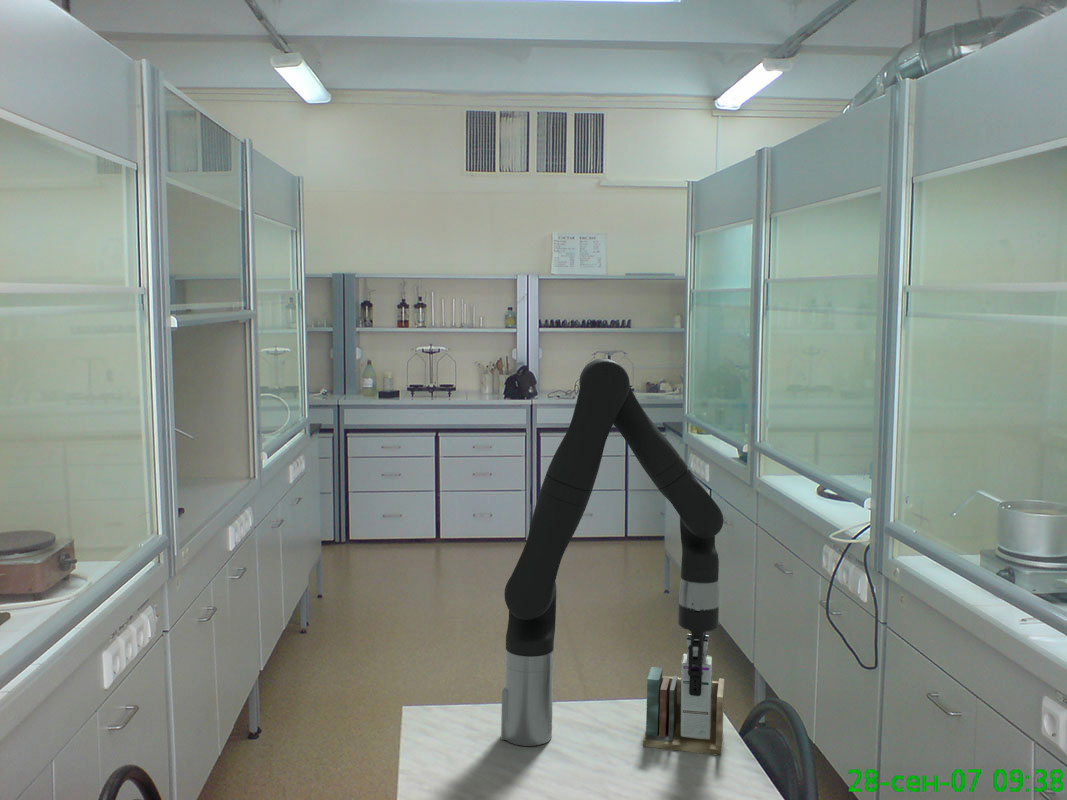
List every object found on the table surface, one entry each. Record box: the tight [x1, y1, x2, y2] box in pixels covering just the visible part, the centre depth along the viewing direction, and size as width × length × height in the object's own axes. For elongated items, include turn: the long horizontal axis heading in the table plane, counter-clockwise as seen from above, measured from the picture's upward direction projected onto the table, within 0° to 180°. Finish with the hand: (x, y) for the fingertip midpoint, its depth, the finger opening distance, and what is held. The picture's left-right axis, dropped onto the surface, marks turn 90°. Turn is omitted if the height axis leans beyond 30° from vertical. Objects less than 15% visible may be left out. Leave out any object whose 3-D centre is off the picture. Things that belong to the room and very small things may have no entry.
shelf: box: [642, 666, 725, 756], centre depth 176 cm, size 14×11×12 cm
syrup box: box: [680, 653, 713, 740], centre depth 174 cm, size 6×6×14 cm
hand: (696, 688), depth 174 cm, fingers closed on syrup box, 5 cm apart
